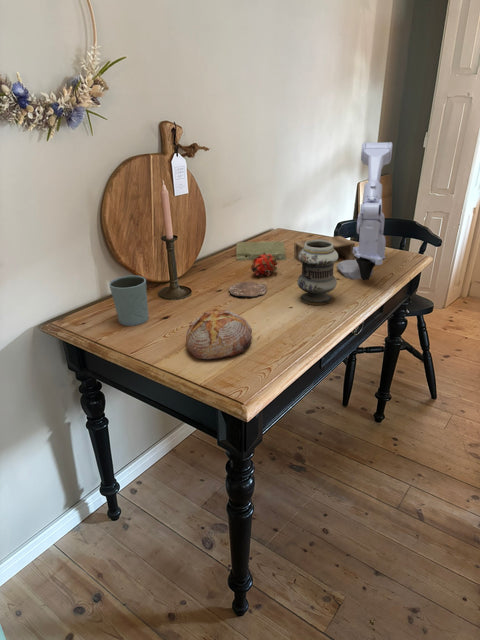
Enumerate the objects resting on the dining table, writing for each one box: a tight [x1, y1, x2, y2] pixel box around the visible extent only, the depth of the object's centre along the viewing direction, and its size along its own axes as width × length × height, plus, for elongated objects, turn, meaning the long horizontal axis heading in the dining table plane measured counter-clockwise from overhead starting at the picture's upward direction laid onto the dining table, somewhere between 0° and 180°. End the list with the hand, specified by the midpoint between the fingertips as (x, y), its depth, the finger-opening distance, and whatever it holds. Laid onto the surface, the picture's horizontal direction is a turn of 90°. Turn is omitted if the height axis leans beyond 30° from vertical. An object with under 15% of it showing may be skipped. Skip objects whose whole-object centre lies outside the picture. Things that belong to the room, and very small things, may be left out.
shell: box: [228, 281, 268, 299], centre depth 154 cm, size 12×13×4 cm
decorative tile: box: [235, 241, 287, 261], centre depth 191 cm, size 19×20×4 cm
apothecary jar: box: [296, 239, 339, 306], centre depth 144 cm, size 12×12×18 cm
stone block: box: [336, 259, 374, 280], centre depth 168 cm, size 12×5×10 cm
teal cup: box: [108, 275, 149, 327], centre depth 136 cm, size 10×10×12 cm
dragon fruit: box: [250, 253, 278, 277], centre depth 168 cm, size 8×8×12 cm
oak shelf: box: [293, 235, 356, 264], centre depth 182 cm, size 20×12×6 cm, turn 109°
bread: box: [185, 309, 253, 360], centre depth 121 cm, size 16×20×10 cm
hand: (365, 279), depth 158 cm, fingers closed
